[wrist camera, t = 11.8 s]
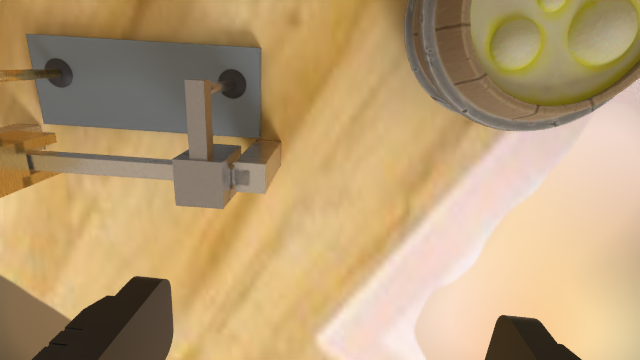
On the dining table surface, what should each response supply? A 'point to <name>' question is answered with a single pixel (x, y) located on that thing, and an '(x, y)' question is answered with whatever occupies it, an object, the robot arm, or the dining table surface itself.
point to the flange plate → (144, 83)
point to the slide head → (22, 142)
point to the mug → (523, 57)
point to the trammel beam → (180, 158)
